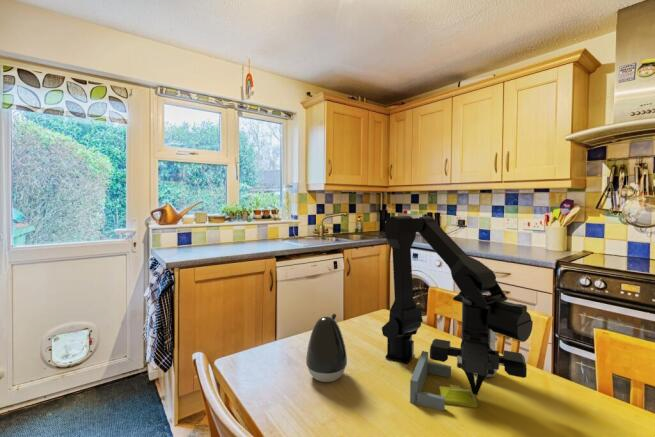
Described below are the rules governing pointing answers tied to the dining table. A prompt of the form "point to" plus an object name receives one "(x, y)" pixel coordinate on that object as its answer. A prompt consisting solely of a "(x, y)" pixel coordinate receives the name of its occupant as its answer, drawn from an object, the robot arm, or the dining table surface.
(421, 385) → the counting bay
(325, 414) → the dining table surface
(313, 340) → the dark grey egg shape
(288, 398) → the dining table surface
